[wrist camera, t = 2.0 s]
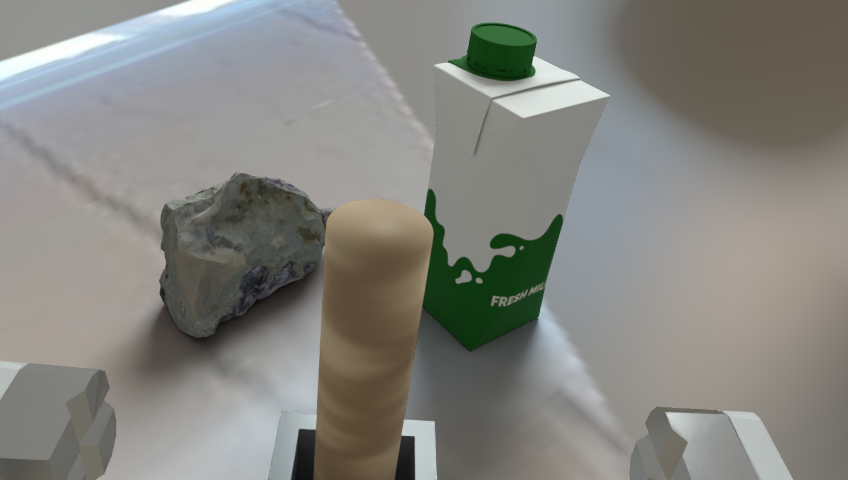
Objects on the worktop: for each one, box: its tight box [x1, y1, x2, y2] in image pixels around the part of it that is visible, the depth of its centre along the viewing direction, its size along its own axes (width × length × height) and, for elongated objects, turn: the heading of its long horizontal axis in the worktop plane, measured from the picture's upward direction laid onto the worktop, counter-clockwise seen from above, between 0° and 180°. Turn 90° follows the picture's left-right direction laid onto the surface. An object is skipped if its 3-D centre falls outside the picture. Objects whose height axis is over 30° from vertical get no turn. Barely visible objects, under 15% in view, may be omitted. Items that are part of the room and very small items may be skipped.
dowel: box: [313, 199, 434, 480], centre depth 29 cm, size 4×4×20 cm
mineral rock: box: [159, 172, 335, 338], centre depth 47 cm, size 13×11×10 cm
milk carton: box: [422, 23, 610, 351], centre depth 46 cm, size 9×9×20 cm
